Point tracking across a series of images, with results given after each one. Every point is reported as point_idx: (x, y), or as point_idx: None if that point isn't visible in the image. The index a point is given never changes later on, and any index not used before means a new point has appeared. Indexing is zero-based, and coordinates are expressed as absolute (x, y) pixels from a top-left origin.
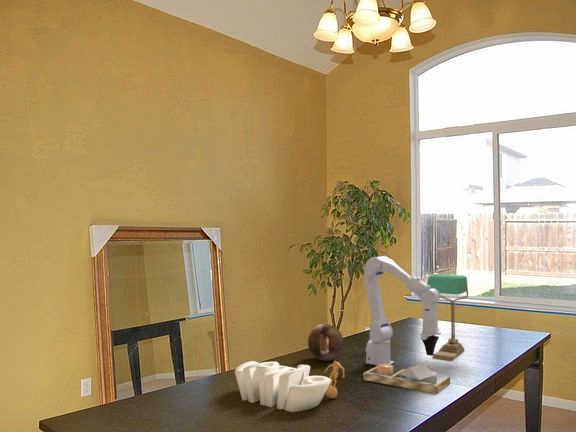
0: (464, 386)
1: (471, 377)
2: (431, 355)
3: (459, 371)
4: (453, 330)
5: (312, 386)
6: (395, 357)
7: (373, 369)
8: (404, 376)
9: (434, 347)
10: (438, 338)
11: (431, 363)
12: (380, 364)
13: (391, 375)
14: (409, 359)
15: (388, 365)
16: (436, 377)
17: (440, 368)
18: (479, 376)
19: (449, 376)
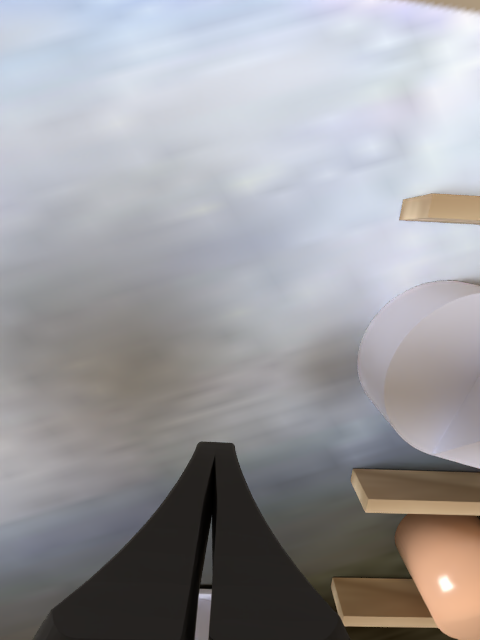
0: (440, 77)
1: (173, 87)
2: (233, 447)
3: (67, 220)
4: None
5: None
6: (30, 612)
7: None
8: (376, 469)
9: (189, 496)
10: (62, 620)
11: (5, 434)
12: (460, 632)
13: (471, 521)
14: (15, 551)
15: (468, 595)
16: (456, 288)
17: (81, 355)
18: (104, 27)
19: (432, 198)
